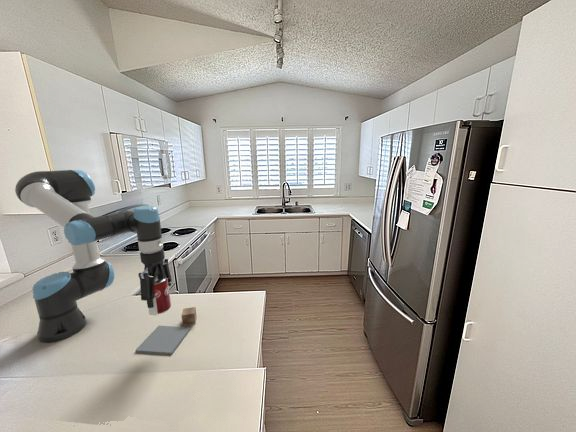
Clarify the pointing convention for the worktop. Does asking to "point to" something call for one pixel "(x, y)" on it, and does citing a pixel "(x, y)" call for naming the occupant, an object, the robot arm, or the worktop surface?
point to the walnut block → (189, 316)
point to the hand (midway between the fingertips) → (160, 307)
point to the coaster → (163, 340)
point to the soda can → (162, 294)
